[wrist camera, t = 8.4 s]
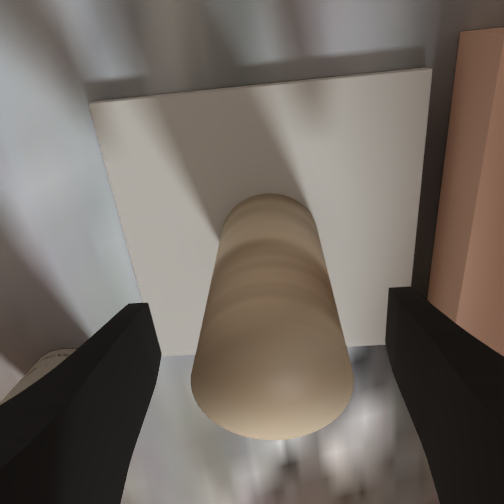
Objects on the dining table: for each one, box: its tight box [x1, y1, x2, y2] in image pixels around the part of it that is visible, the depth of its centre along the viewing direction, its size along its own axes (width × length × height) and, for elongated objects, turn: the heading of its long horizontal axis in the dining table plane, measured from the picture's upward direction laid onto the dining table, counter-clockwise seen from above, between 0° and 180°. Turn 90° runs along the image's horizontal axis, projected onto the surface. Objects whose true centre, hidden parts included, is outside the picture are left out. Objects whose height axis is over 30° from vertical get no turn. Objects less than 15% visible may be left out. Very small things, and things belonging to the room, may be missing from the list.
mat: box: [88, 67, 432, 356], centre depth 18 cm, size 12×12×1 cm
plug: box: [191, 193, 354, 440], centre depth 14 cm, size 4×4×8 cm
